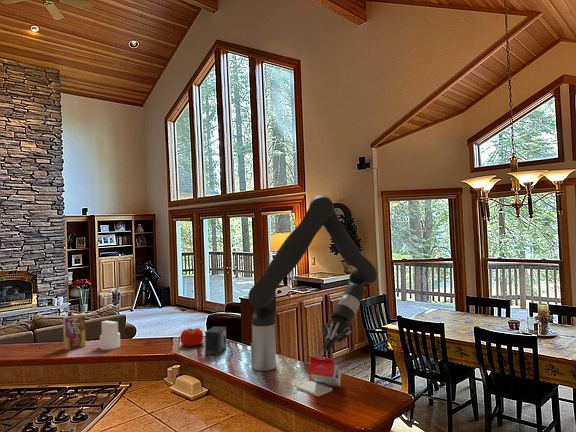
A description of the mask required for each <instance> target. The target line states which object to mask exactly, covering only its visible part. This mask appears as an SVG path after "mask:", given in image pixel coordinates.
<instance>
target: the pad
mask: <svg viewBox="0 0 576 432" xmlns="http://www.w3.org/2000/svg"><path fill="white" fill-rule="evenodd" d="M296 389H297V390H299V391H301V392H305V393H307V394H310V395H312V396H315V397H317V396H318V397H321V396H323V395H325V394H328V393H330V392H332V391H333V387H329V386H327V385H325V384H318V383H317V382H316V381H312V380H309V381H307V382H305V383H302V384H300V385H297V386H296Z"/></svg>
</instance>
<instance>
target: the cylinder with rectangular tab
mask: <svg viewBox="0 0 576 432" xmlns="http://www.w3.org/2000/svg"><path fill="white" fill-rule="evenodd" d="M119 347H121V333H120V332H119V322H118V321H112V320H103V321H101V334H100V335H99V349H100V350H103V351H105V350H108V351H109V350H116V349H118V348H119Z"/></svg>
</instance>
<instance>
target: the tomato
mask: <svg viewBox="0 0 576 432" xmlns="http://www.w3.org/2000/svg"><path fill="white" fill-rule="evenodd" d="M179 338H180V339H179V340H180V343H181V344H182V345H184V346H185V347H188V348H189V347H197V346H198V345H201V344H202V342H203V339H204V333H203V330H202V329H200V328H199V327H198V328H197V327H196V328H188V329H184V330H183V331H182V332H181V333H180V337H179Z"/></svg>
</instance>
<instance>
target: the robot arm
mask: <svg viewBox="0 0 576 432" xmlns="http://www.w3.org/2000/svg"><path fill="white" fill-rule="evenodd" d="M334 205H335V204H334V202H333V201H332V200H331V198H329V197H328V196H326V195H323V194H320V195H319V194H318V195H316V196H314V197H313V198H312V199H311V201H310V203H309V207H308V208H307V211H306V213H305V215H304V217H303V218H302V220H301V221H300V223H299V224H298V225H297V227H296V228H294V229H293V231H292V232H291V233H289V235H288V236H287V237H286V238H285V240H284V241H283V243H282V244H281V246H280V247H279V249H278V250H277V252H276V253H275V254H274V256H273V258H272V260H271V261H270V263H269V265H268V266H267V268H266V270H265V272H264V273H263V274H262V275H261V276H260V278H259V279H258V280H257V281H256V282H255V283H254V284H253V286H252V287H251V288H250V290H249V292H248V302H249V304H250V305H251V306H252V307H253V308H254V309H253V314H252V317H251V341H252V342H250V363H251V364H250V365H251V367H252V368H253V370H255V371H259V372H267V371H272V370H274V369H276V368H277V356H276V355H277V352H276V349H277V348H276V347H277V346H276V323H275V322H276V321H275V320H276V315H277V294H276V290H277V289H278V287H279V285H280V284H281V283H282V282H283V280H284V279H285V278H286V277H287V276H289V274H290V273H291V272H292V271H293V270H294V269H295V267H297V265H298V264H299V262H300V261H301V259H302V258H303V257H304V255H305V253H306V252H307V251H308V250H309V249H308V248H309V247H310V246H311V244H312V241H314V238H315V236H316V235H317V233H318V232H319V231H320V230H321V228H322V227H324V229H325V230H326V231H327V233H328V235H329V236H330V238H331V240H332V243H333V244H334V246H335V248H336V249H337V252H338V253H339V254H340V256H341V258H342V259H343V261H344V262H345V263H346V265H348V266H351V267H354V268H353V270H352V271H351V273H350V275H349V278H348V281H347V287H346V288H345V291H344V293H343V294H342V296H341V297H340V299H339V301H338V302H337V305H336V307H334V310H333V312H332V314H331V318H330V319H329V321H328V322H327V323H325V322H324V323H322V324H321V330H322V336H323V337H324V339H325V340H324V342H323V344H322V349H323V350H324V351H325V352H330V351H331V350H332V348H333V346H334V344H335V343H340V342H342V341H344V340H345V339H347V338H348V337H349V336H351V335H352V334H353V333H352V331H351V330H350V326H351V324H352V322H353V320H354V318H355V316H356V314H357V312H358V310H359V307H360V304H361V303H362V301H363V298H364V297H365V289H364V287H363V286H364V285H368V284H372V283H374V282H376V280H377V278H378V272H377V270H376V267H375V266H374V265H373V264H372V262H370V261H369V260H368V258H366V257H365V256H364V255H363V254H362V253H361V251H360V249H359V248H358V246H357V245H356V243H355V242H354V240H353V238H352V237H351V236H350V235H349V233H348V231H347V230H346V229H345V227H344V226H343V224H342V223H341V221H340V219H339V217H338V216H337V213H336V210H335V206H334Z"/></svg>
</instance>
